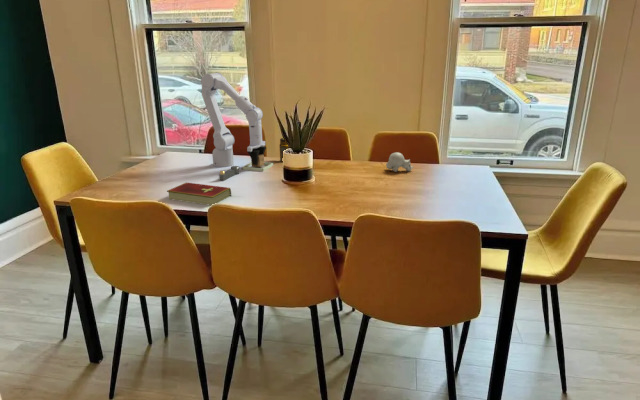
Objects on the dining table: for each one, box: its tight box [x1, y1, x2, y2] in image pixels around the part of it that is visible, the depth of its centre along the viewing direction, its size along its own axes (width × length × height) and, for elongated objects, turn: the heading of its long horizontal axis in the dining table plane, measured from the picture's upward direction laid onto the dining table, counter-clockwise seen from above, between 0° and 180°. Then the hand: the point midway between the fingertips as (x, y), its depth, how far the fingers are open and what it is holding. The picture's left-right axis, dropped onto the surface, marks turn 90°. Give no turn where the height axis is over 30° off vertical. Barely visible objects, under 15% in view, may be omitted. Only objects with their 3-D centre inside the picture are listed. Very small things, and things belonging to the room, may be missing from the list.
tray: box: [241, 161, 274, 172], centre depth 206 cm, size 11×11×2 cm
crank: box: [218, 165, 240, 182], centre depth 192 cm, size 13×4×4 cm, turn 160°
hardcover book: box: [166, 182, 232, 206], centre depth 168 cm, size 12×21×4 cm, turn 68°
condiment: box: [279, 137, 288, 162], centre depth 216 cm, size 7×8×12 cm
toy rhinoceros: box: [385, 151, 414, 173], centre depth 199 cm, size 7×12×8 cm, turn 80°
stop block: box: [250, 154, 265, 168], centre depth 205 cm, size 4×4×5 cm
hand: (257, 163), depth 206 cm, fingers closed on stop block, 4 cm apart
